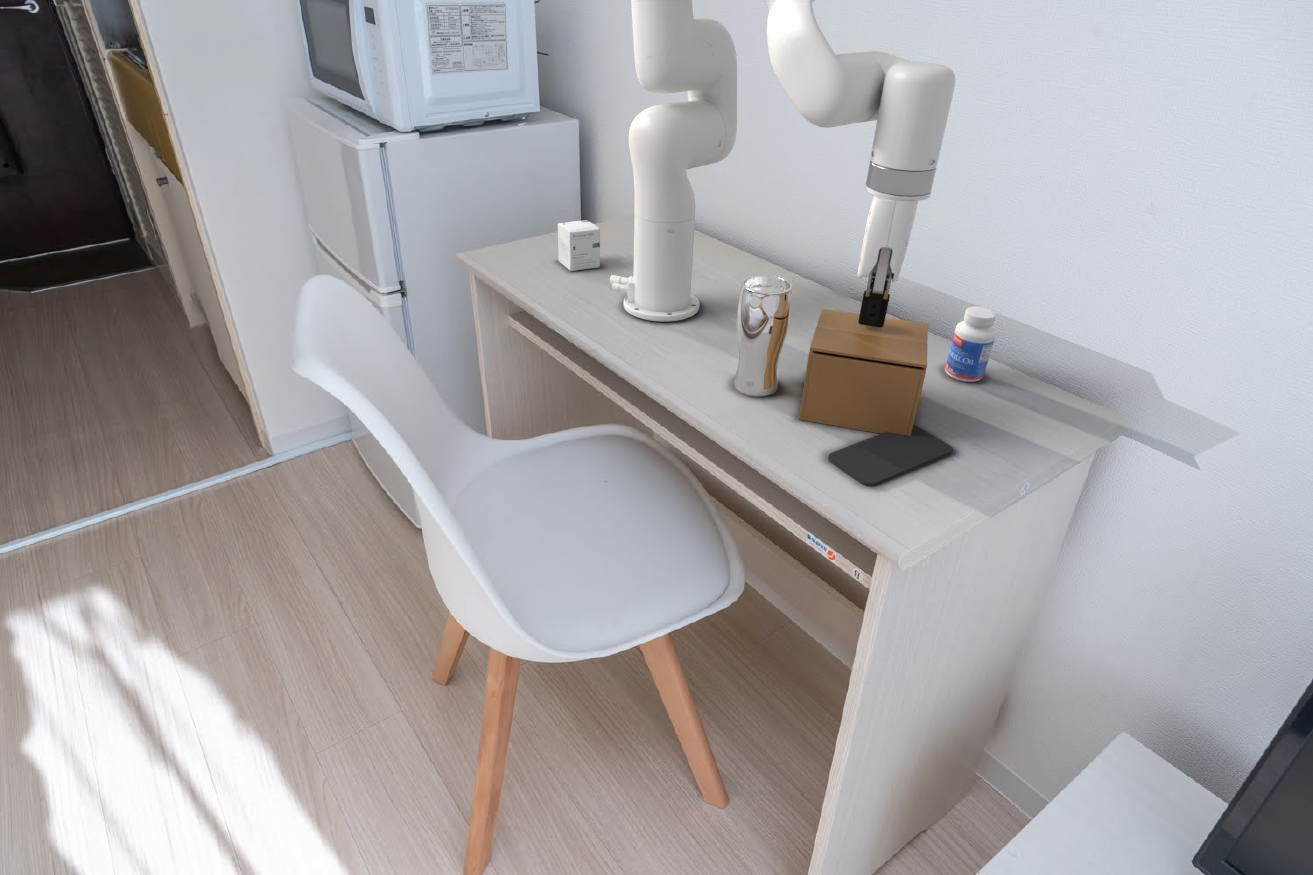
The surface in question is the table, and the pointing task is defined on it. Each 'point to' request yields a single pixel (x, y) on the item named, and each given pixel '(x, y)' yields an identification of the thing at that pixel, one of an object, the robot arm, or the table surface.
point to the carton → (863, 381)
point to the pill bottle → (971, 345)
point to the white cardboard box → (579, 245)
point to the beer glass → (761, 332)
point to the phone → (889, 455)
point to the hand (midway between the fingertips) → (870, 323)
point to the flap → (889, 330)
